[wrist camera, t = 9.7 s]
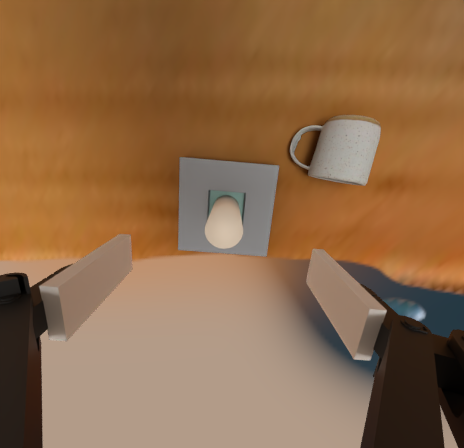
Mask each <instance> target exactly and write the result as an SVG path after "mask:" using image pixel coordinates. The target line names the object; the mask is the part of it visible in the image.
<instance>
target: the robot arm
mask: <svg viewBox="0 0 464 448" xmlns="http://www.w3.org/2000/svg"><path fill="white" fill-rule="evenodd" d="M131 270H132V251H131V235H128V234H119V235H117V236H116V237H114V238H113V239H111V240H110V241H108V242H106V243H105V244H103V245H102V246H100V247H99V248H97V249H96V250H94V251H93V252H91V253H89V254H88V255H86V256H85V257H83V258H82V259H80V260H79V261H77V262H76V263H74V264H71V265H68V266H65V267H63V268H61V269H59V270H58V271H56V272H54V274H51V275H50V276H48V277H47V278H45V279H43V280H42V281H40V282H38V283H37V284H35V285H34V286H32V287H30V286H29V281H28V277H27V275H26V274H24V273H9V274H4V275H0V448H42V379H41V378H42V375H41V340H40V335H41V334H42V333H44V332H45V331H46V330H48V335H49V340H56V341H57V340H58V341H67V340H68V339H69V338H70V337H71V336H72V335H73V334H74V333H75V332H76V331H77V330H78V328H79V327H80V326H81V325H82V324H83V323H84V322H85V321H86V320H87V319H88V318H89V316H90V315H91V314H92V313H93V312H94V311H95V310H96V309H97V308H98V307H99V306H100V304H101V303H102V302H103V301H104V300H105V299H106V298H107V297H108V296H109V295H110V294H111V292H112V291H113V290H114V289H115V288H116V287H117V286H118V285H119V284H120V283H121V281H122V280H123V279H124V278H125V277H126V276H127V275H128V274H129V272H131ZM306 283H307V285H308V286H309V288H310V289H311V291H312V293H313V294H314V296H315V297H316V299H317V301H318V302H319V304H320V305H321V307H322V309H323V310H324V311H325V313H326V315H327V317H328V318H329V320H330V321H331V323H332V325H333V326H334V328H335V329H336V331H337V332H338V334H339V336H340V338H341V339H342V341H343V342H344V344H345V345H346V347H347V349H348V350H349V352H350V353H351V355H352V357H353V358H354V359H358V360H370V359H371V356H372V354H373V351H374V350H375V352H376V353H377V354H378V356H379V360H378V363H377V366H376V369H375V372H374V375H373V377H375V378H374V383H373V388H372V393H371V398H370V402H369V407H368V412H367V418H366V422H365V427H364V433H363V437H362V442H361V448H444V439H443V430H442V421H441V412H440V406H441V408H442V410H443V412H444V415H445V417H446V420H447V422H448V424H449V426H450V429H451V431H452V434H453V436H454V438H455V441H456V443H457V446H458V448H464V331H462V330H453V331H452V332H451V334H450V336H449V338H446V337H442V336H438V335H434V334H432V333H431V331H430V330H429V329H428V328H427V327H426V326H425V325H423V324H422V323H420V322H419V321H416V320H414V319H412V318H409V317H406V316H400V315H398V314H397V313H396V312H395V311H394V310H393V309H392V308H390V307H389V306H388V305H387V304H386V303H385V302H384V301H382V299H380V297H377V295H376V294H375V293H374V292H373V291H372V290H371V289H369V288H367V287H366V286H364V285H362V284H359V283H358V282H357V281H356V280H355V279H353V277H351V276H350V275H349V274H348V273H347V272H346V271H345V270H344V269H343V268H342V267H341V266H340V265H339V264H338V263H337V262H336V261H335V260H334V259H333V258H332V257H330V256H329V255H328V254H327V253H326V252H325V251H324V250H322V249H313V251H312V256H311V260H310V265H309V270H308V275H307V280H306Z"/></svg>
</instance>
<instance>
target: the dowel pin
mask: <svg viewBox="0 0 464 448" xmlns="http://www.w3.org/2000/svg"><path fill="white" fill-rule="evenodd" d="M205 235H206V238H207V240H208V241H209V242H210V243H211V244H212V245H213V246H215V247H217V248H221V249H227V248H231V247H233V246H235V245H236V244H238V243H239V241H240V240H241V238H242V235H243V225H242V220H241V214H240V209H239V204H238V202H237V200H236V199H235V198H234V197H232V196H230V195H222V196H220V197H218V198H217V199H216V201H215V203H214V205H213V208H212V210H211V213H210V215H209V218H208V220H207V222H206V225H205Z"/></svg>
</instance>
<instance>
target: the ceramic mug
mask: <svg viewBox="0 0 464 448" xmlns="http://www.w3.org/2000/svg"><path fill="white" fill-rule="evenodd" d="M314 130H318V131H321V133H320V137H319V140H318V143H317V147H316V150H315V153H314V155H313V159H312V162H311V165H310V166H306V165H304V164H302V163H301V162H299V161H298V160H297V159H296V157H295V155H294V151H295V148H296V146H297V143H298V141H299V140H300V139H301V135H302V134H303V133H305V132H307V131H314ZM380 132H381V126H380V123H379V122H378V121H376V120H375V119H373V118H370V117H366V116H360V115H339V116H335V117H332V118H331V119H329V120H328V121H327V122H326V123H325V124H324V125H323V126H318V125H313V126H308V127H305V128H303V129H301V130H300V131H299V132H298V133H296V135H295V136H294V137H293V140H292V142H291V145H290V155H291V157H292V159H293V160H294V162H295V163H296V164H298V165H299V166H301V167H303V168H305V169H308V170H309V171H308V176H311V177H315V178H319V179H323V180H329V181H334V182H340V183H346V184H352V185H366V183H367V181H368V177H369V174H370V170H371V167H372V163H373V160H374V156H375V152H376V149H377V146H378V143H379V139H380Z"/></svg>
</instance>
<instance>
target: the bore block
mask: <svg viewBox="0 0 464 448" xmlns="http://www.w3.org/2000/svg"><path fill="white" fill-rule="evenodd" d="M278 171H279V166H278V165H266V164H255V163H243V162H232V161H220V160H209V159H197V158H186V157H180V170H179V234H178V250H186V251H200V252H213V253H226V254H240V255H253V256H266V257H267V250H268V243H269V235H270V228H271V221H272V214H273V207H274V200H275V193H276V185H277V178H278ZM222 195H230V196H232V197H234V198H235V199H236V200H237V202H238V204H239V209H240V214H241V220H242V225H243V235H242V238H241V240H240V241H239V243H238V244H236V245H235V246H233V247H231V248H227V249H221V248H217V247H215V246H213V245H212V244H211V243H210V242H209V241H208V240H207V238H206V235H205V225H206V222H207V220H208V218H209V215H210V213H211V210H212V208H213V205H214V203H215V201H216V199H217V198H218V197H220V196H222Z"/></svg>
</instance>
